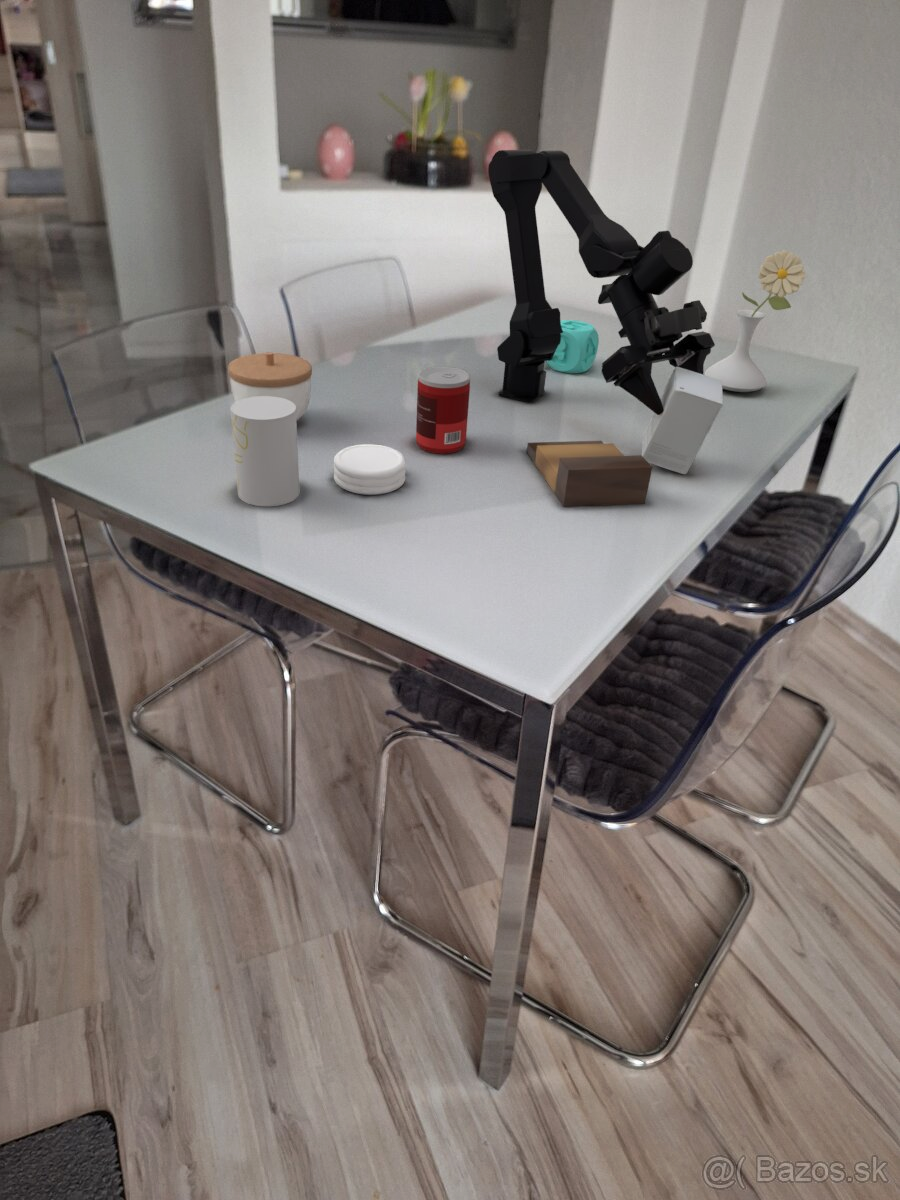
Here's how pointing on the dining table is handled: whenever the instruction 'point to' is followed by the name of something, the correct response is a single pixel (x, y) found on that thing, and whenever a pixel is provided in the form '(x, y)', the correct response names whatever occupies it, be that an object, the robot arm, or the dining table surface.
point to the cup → (265, 450)
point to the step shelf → (591, 472)
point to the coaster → (369, 469)
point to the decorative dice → (575, 347)
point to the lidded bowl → (272, 378)
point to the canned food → (442, 409)
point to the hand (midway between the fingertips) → (682, 408)
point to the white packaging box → (682, 420)
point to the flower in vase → (777, 279)
